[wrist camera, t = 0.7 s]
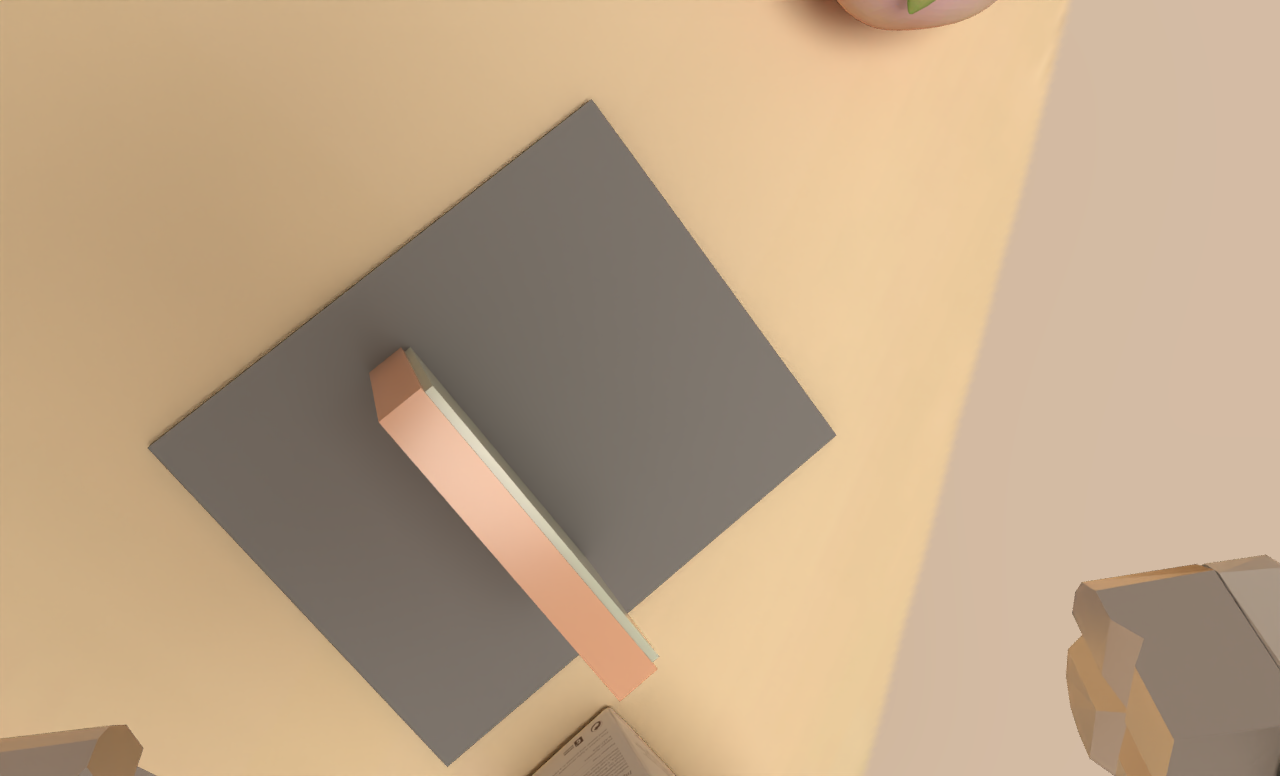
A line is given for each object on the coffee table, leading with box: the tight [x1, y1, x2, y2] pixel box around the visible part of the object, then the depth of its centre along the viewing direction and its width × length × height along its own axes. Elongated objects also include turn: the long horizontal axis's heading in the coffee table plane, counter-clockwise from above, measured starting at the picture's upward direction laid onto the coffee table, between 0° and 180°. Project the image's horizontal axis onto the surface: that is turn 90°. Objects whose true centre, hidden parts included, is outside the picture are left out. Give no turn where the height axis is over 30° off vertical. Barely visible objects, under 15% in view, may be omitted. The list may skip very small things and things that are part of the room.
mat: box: [148, 99, 836, 767], centre depth 48 cm, size 18×22×1 cm
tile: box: [369, 347, 659, 701], centre depth 42 cm, size 12×2×12 cm, turn 38°
